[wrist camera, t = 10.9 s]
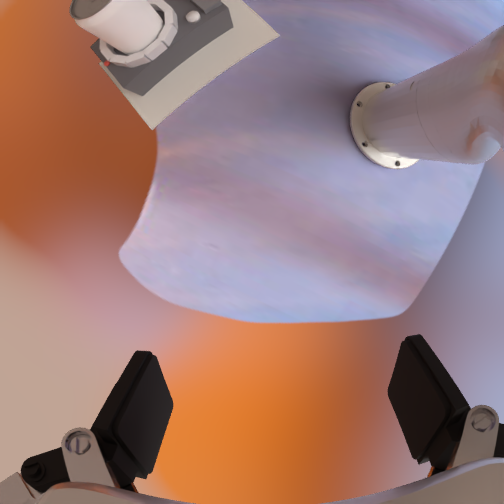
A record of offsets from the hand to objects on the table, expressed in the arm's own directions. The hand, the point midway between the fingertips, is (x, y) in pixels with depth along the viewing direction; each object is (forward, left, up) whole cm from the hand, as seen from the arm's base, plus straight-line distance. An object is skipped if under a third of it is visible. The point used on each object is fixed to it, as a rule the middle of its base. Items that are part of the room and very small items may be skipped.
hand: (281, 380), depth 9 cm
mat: (-6, -28, -30) cm, 41 cm away
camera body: (-5, -30, -29) cm, 42 cm away
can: (-3, -29, -24) cm, 38 cm away
